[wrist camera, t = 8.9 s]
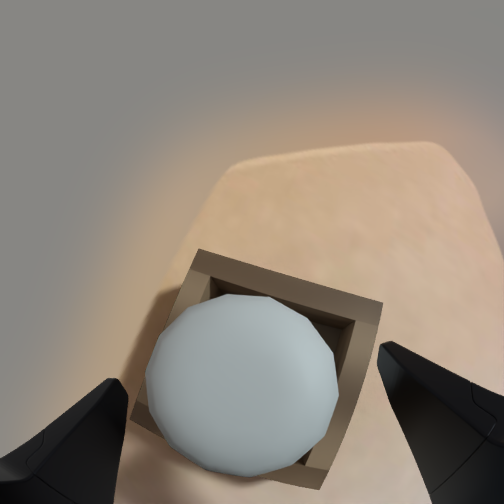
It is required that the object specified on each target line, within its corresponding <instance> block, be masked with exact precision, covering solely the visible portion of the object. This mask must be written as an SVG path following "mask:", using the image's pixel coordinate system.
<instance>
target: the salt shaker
mask: <svg viewBox="0 0 504 504" xmlns="http://www.w3.org/2000/svg"><path fill="white" fill-rule="evenodd" d="M145 376H146V387H147V396H148V405H149V412H150V413H151V415H152V417H153V419H154V421H155V422H156V424H157V426H158V428H159V429H160V431H161V433H162V434H163V436H164V438H165V439H166V441H167V442H168V444H169V446H170V447H172V448H173V449H174V450H176V451H177V452H179V453H180V454H182V455H183V456H185V457H186V458H188V459H189V460H191V461H192V462H194V463H195V464H197V465H199V466H200V467H202V468H203V469H205V470H208V471H213V472H218V473H224V474H229V475H236V476H242V477H253V476H257V475H261V474H264V473H268V472H271V471H275V470H278V469H281V468H284V467H287V466H290V465H292V464H294V463H295V462H296V461H297V460H298V459H300V458H301V457H302V456H303V455H304V454H305V453H307V452H308V451H309V450H310V449H311V448H312V447H313V446H314V445H315V444H317V443H318V442H319V441H320V440H321V439H322V438H323V437H324V436H325V434H326V431H327V428H328V426H329V423H330V420H331V417H332V415H333V412H334V409H335V406H336V403H337V400H338V397H339V392H338V384H337V377H336V369H335V362H334V355H333V352H332V351H331V349H330V348H329V347H328V345H327V344H326V343H325V341H324V340H323V339H322V337H321V336H320V335H319V333H318V332H317V330H316V329H315V328H314V326H313V325H312V324H311V322H310V321H309V320H308V318H306V317H304V316H302V315H301V314H299V313H297V312H295V311H294V310H292V309H290V308H288V307H286V306H285V305H283V304H281V303H279V302H278V301H276V300H274V299H272V298H271V297H262V296H247V295H233V294H226V295H223V296H220V297H217V298H214V299H211V300H208V301H205V302H202V303H199V304H196V305H193V306H190V307H188V308H187V309H186V310H185V311H184V312H183V313H182V314H181V315H180V316H179V317H177V318H176V319H175V320H174V321H173V322H172V323H171V324H170V325H169V326H168V327H167V328H166V329H165V330H164V331H163V332H162V333H161V334H160V335H159V337H158V340H157V343H156V345H155V348H154V350H153V353H152V355H151V358H150V360H149V363H148V366H147V368H146V371H145Z"/></svg>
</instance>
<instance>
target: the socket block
mask: <svg viewBox="0 0 504 504" xmlns="http://www.w3.org/2000/svg"><path fill="white" fill-rule="evenodd" d="M226 294H233V295H247V296H262V297H271V298H272V299H274V300H276V301H278V302H279V303H281V304H283V305H285V306H286V307H288V308H290V309H292V310H294V311H295V312H297V313H299V314H301V315H302V316H304V317H306V318H308V320H309V321H310V322H311V324H312V325H313V326H314V328H315V329H316V330H317V332H318V333H319V335H320V336H321V337H322V339H323V340H324V341H325V343H326V344H327V345H328V347H329V348H330V349H331V351H332V352H333V355H334V362H335V369H336V377H337V384H338V392H339V397H338V400H337V403H336V406H335V409H334V412H333V415H332V417H331V420H330V423H329V426H328V428H327V431H326V434H325V436H324V437H323V438H322V439H321V440H320V441H319V442H318V443H317V444H315V445H314V446H313V447H312V448H311V449H310V450H309V451H308V452H307V453H305V454H304V455H303V456H302V457H301V458H300V459H298V460H297V461H296V462H295V463H294V464H292V465H290V466H287V467H284V468H281V469H278V470H275V471H271V472H268V473H264V474H261V475H257V476H259V477H263V478H266V479H270V480H274V481H278V482H282V483H286V484H290V485H295V486H300V487H305V488H310V489H316V490H320V488H321V486H322V484H323V482H324V480H325V478H326V476H327V474H328V472H329V470H330V467H331V465H332V463H333V461H334V459H335V457H336V454H337V452H338V450H339V447H340V445H341V443H342V440H343V438H344V435H345V433H346V430H347V428H348V425H349V423H350V420H351V417H352V415H353V412H354V409H355V406H356V403H357V400H358V397H359V394H360V391H361V388H362V385H363V382H364V379H365V375H366V372H367V369H368V365H369V361H370V358H371V354H372V350H373V346H374V342H375V338H376V334H377V330H378V325H379V321H380V316H381V311H382V306H383V303H382V302H378V301H375V300H371V299H368V298H364V297H361V296H357V295H354V294H350V293H347V292H343V291H340V290H336V289H333V288H329V287H326V286H322V285H319V284H315V283H312V282H309V281H305V280H302V279H298V278H295V277H291V276H288V275H285V274H281V273H278V272H275V271H271V270H268V269H264V268H261V267H258V266H254V265H251V264H248V263H244V262H241V261H238V260H234V259H231V258H228V257H225V256H221V255H218V254H215V253H211V252H208V251H205V250H202V249H198V251H197V253H196V255H195V258H194V260H193V262H192V264H191V267H190V269H189V271H188V273H187V275H186V278H185V280H184V282H183V285H182V287H181V289H180V291H179V294H178V296H177V298H176V301H175V303H174V305H173V308H172V310H171V313H170V315H169V317H168V320H167V322H166V325H165V327H164V329H163V331H164V330H165V329H166V328H167V327H168V326H169V325H170V324H171V323H172V322H173V321H174V320H175V319H176V318H177V317H179V316H180V315H181V314H182V313H183V312H184V311H185V310H186V309H187V308H188V307H190V306H193V305H196V304H199V303H202V302H205V301H208V300H211V299H214V298H217V297H220V296H223V295H226ZM130 420H132V421H134V422H135V423H137V424H139V425H140V426H142V427H144V428H146V429H147V430H149V431H151V432H153V433H155V434H157V435H158V436H160V437H162V438H164V436H163V434H162V433H161V431H160V429H159V428H158V426H157V424H156V422H155V421H154V419H153V417H152V415H151V413H150V412H149V405H148V396H147V387H146V376H145V378H144V381H143V383H142V386H141V389H140V392H139V394H138V397H137V400H136V403H135V406H134V408H133V411H132V414H131V417H130ZM164 439H165V438H164Z"/></svg>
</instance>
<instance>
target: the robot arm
mask: <svg viewBox="0 0 504 504" xmlns="http://www.w3.org/2000/svg"><path fill="white" fill-rule="evenodd" d="M377 366H378V370H379V373H380V375H381V378H382V381H383V384H384V387H385V390H386V393H387V396H388V399H389V402H390V404H391V407H392V409H393V411H394V413H395V415H396V418H397V420H398V422H399V424H400V426H401V428H402V431H403V433H404V435H405V437H406V440H407V442H408V444H409V447H410V449H411V451H412V454H413V456H414V458H415V461H416V463H417V465H418V468H419V470H420V473H421V475H422V478H423V480H424V483H425V485H426V488H427V491H428V493H429V496H430V499H431V502H432V504H504V396H502V395H499V394H497V393H494V392H492V391H489V390H487V389H485V388H483V387H481V386H479V385H477V384H475V383H473V382H471V383H470V381H469V380H467V379H465V378H463V377H461V376H459V375H457V374H455V373H453V372H451V371H449V370H447V369H445V368H443V367H441V366H439V365H437V364H435V363H433V362H432V361H430V360H428V359H426V358H424V357H422V356H420V355H418V354H416V353H414V352H412V351H410V350H408V349H406V348H405V347H403V346H401V345H399V344H397V343H395V342H393V341H388V342H385V343H382V344H380V346H379V352H378V359H377ZM127 408H128V394H127V392H126V390H125V389H124V387H123V386H122V384H121V382H120V381H119V380H118V379H116V378H107V379H106V380H105V381H103V382H102V383H101V384H100V385H98V386H97V387H96V388H95V389H93V390H92V391H91V392H90V393H88V394H87V395H86V396H85V397H83V398H82V399H81V400H80V401H78V402H77V403H76V404H75V405H73V406H72V407H71V408H70V409H68V410H67V411H66V412H65V413H63V414H62V415H61V416H60V417H58V418H57V419H56V420H54V421H53V422H52V423H51V424H49V425H48V426H47V427H46V428H45V429H43V430H42V431H41V432H39V433H38V434H37V435H36V436H34V437H33V438H31V439H30V440H29V441H27V442H26V443H25V444H23V445H21V446H20V447H18V448H17V449H15V450H14V451H12V452H10V453H9V454H7V455H5V456H4V457H2V458H0V504H113V502H114V494H115V487H116V480H117V474H118V468H119V462H120V456H121V451H122V446H123V441H124V435H125V428H126V417H127Z"/></svg>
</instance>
